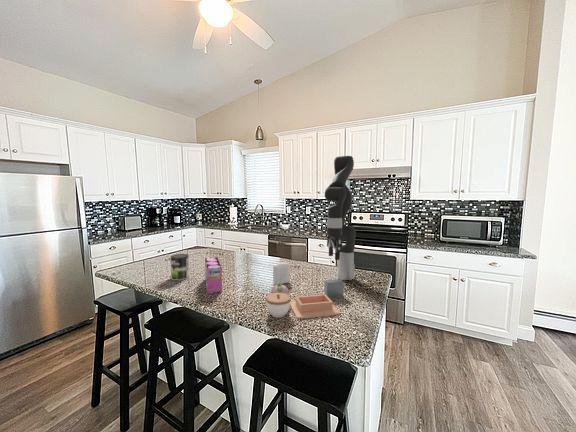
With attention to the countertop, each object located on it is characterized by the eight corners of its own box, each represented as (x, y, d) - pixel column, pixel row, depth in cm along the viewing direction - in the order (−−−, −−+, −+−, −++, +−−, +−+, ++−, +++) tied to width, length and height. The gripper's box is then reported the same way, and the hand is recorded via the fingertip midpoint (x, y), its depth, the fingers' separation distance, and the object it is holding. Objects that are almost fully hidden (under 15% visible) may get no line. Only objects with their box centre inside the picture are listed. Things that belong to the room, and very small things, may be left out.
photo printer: (286, 280, 157) (286, 260, 155) (290, 282, 153) (290, 262, 152) (272, 283, 151) (272, 263, 150) (275, 286, 147) (275, 264, 146)
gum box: (204, 279, 158) (204, 257, 157) (218, 277, 161) (217, 256, 160) (207, 293, 136) (206, 268, 135) (222, 291, 139) (222, 266, 138)
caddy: (288, 303, 124) (288, 294, 124) (327, 299, 129) (327, 291, 128) (297, 319, 109) (297, 309, 108) (340, 314, 113) (341, 304, 113)
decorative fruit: (291, 306, 121) (291, 285, 120) (274, 308, 119) (274, 287, 118) (285, 298, 130) (285, 279, 129) (269, 300, 128) (269, 280, 127)
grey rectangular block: (340, 293, 137) (340, 279, 136) (343, 296, 133) (343, 281, 132) (324, 295, 135) (324, 280, 134) (326, 298, 131) (327, 282, 130)
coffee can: (180, 281, 154) (179, 258, 152) (167, 279, 157) (166, 256, 156) (192, 276, 163) (192, 254, 162) (180, 274, 167) (179, 253, 166)
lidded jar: (270, 322, 106) (270, 300, 105) (262, 311, 116) (262, 291, 115) (294, 317, 110) (294, 296, 110) (284, 307, 120) (284, 287, 119)
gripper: (347, 228, 124) (346, 261, 126) (336, 224, 138) (335, 254, 140) (333, 228, 123) (332, 261, 124) (322, 225, 137) (322, 254, 138)
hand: (333, 257), depth 132 cm, fingers open, 8 cm apart
